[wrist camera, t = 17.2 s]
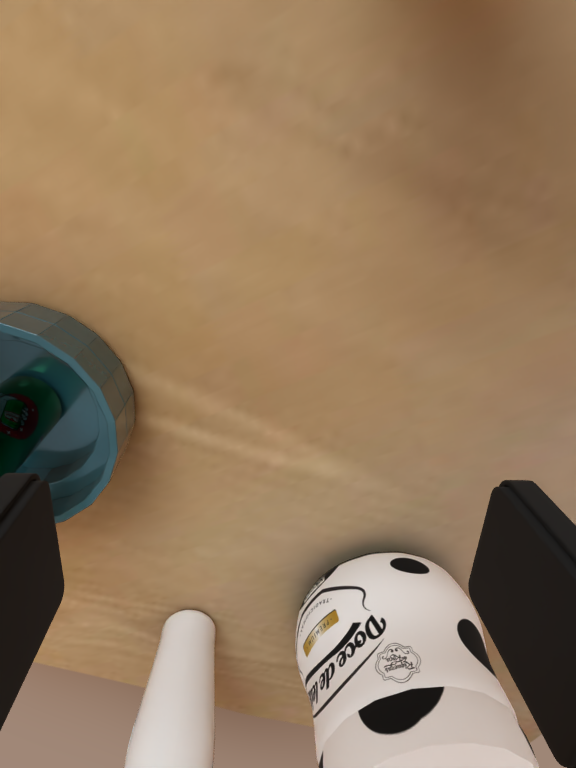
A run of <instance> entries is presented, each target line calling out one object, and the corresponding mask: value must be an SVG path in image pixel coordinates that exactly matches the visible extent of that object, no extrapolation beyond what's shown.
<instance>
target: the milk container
mask: <svg viewBox="0 0 576 768" xmlns="http://www.w3.org/2000/svg"><path fill="white" fill-rule="evenodd" d="M296 658H297V664H298V669H299V673H300V676H301V679H302V682H303V685H304V687H305V690H306V692H307V695H308V697H309V700H310V703H311V706H312V712H313V720H314V731H315V745H316V757H317V763H318V767H319V768H539V765H538V762H537V760H536V757H535V755H534V752H533V750H532V747H531V745H530V743H529V741H528V739H527V737H526V735H525V733H524V732H523V730H522V729H521V727H520V725H519V724H518V721H517V717H516V714H515V712H514V709H513V707H512V705H511V704H510V702H509V700H508V698H507V696H506V694H505V692H504V690H503V689H502V687H501V685H500V683H499V681H498V679H497V677H496V675H495V673H494V671H493V669H492V667H491V665H490V662H489V659H488V655H487V651H486V645H485V640H484V635H483V631H482V627H481V624H480V621H479V618H478V616H477V613H476V611H475V609H474V607H473V605H472V604H471V602H470V600H469V598H468V597H467V596H466V594H465V593H464V591H463V590H462V588H461V587H460V586H459V585H458V583H457V582H456V581H455V580H454V579H453V578H452V577H451V575H450V574H449V573H447V572H446V571H445V570H444V569H443V568H441V567H440V566H438V565H436V564H435V563H433V562H431V561H429V560H427V559H426V558H423V557H420V556H416V555H412V554H408V553H403V552H377V553H369V554H365V555H362V556H359V557H356V558H353V559H350V560H347V561H345V562H343V563H341V564H339V565H337V566H336V567H334V568H333V569H331V570H330V571H329V572H327V573H326V574H324V575H323V576H322V577H321V578H319V580H318V581H317V582H316V583H315V584H314V586H313V587H312V588H311V590H310V591H309V592H308V594H307V596H306V597H305V599H304V601H303V603H302V606H301V608H300V611H299V615H298V621H297V628H296Z"/></svg>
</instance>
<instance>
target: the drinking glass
mask: <svg viewBox="0 0 576 768" xmlns="http://www.w3.org/2000/svg"><path fill="white" fill-rule="evenodd" d="M215 635H216V629H215V625H214V623H213V621H212V619H211V618H210V617H209V616H208V615H206V614H205V613H203V612H200V611H197V610H182V611H179V612H176V613H174V614H173V615H171V616H170V617H169V618H168V619H167V620H166V622H165V623H164V626H163V629H162V633H161V638H160V642H159V646H158V649H157V652H156V656H155V659H154V662H153V666H152V669H151V672H150V675H149V679H148V682H147V685H146V688H145V692H144V695H143V698H142V701H141V704H140V708H139V711H138V714H137V717H136V720H135V724H134V727H133V730H132V734H131V738H130V741H129V746H128V750H127V754H126V759H125V763H124V768H213V760H214V744H215Z"/></svg>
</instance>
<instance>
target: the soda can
mask: <svg viewBox="0 0 576 768" xmlns="http://www.w3.org/2000/svg"><path fill="white" fill-rule="evenodd" d="M60 417H61V403H60V400H59V398H58V396H57V394H56V393H55V392H54V390H53V389H52V388H51V387H50V386H49V385H47V384H46V383H45V382H43V381H41V380H39V379H36V378H33V377H29V376H15V377H11V378H9V379H7V380H5V381H3V382H2V383H1V384H0V477H1V476H3V475H4V474H6V473H16V471H17V470H18V469H19V468H20V467H21V466H22V464H23V463H24V462H25V461H26V460H27V458H28V457H29V456H30V455H31V454H32V453H33V451H34V450H35V449H36V448H37V447H38V446H39V444H40V443H41V442H42V441H43V440H44V438H45V437H46V436H47V435H48V434H49V433H50V431H51V430H52V429H53V428H54V427H55V426H56V424H57V423H58V421H59V419H60Z"/></svg>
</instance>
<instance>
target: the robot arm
mask: <svg viewBox="0 0 576 768" xmlns="http://www.w3.org/2000/svg"><path fill="white" fill-rule="evenodd" d="M63 593H64V578H63V571H62V565H61V558H60V552H59V545H58V538H57V532H56V525H55V519H54V512H53V505H52V499H51V492H50V487H49V483H48V482H47V481H41V479H40V477H39V475H38V474H36V473H6V474H4V475H3V476H1V477H0V730H1V728H2V726H3V724H4V722H5V720H6V718H7V715H8V713H9V711H10V709H11V707H12V705H13V703H14V701H15V698H16V696H17V694H18V692H19V690H20V688H21V686H22V683H23V682H24V679H25V677H26V675H27V673H28V671H29V669H30V667H31V665H32V663H33V660H34V658H35V656H36V654H37V652H38V650H39V648H40V646H41V643H42V641H43V639H44V637H45V635H46V633H47V631H48V629H49V626H50V624H51V622H52V620H53V618H54V616H55V614H56V612H57V610H58V607H59V605H60V603H61V601H62V597H63ZM469 594H470V597H471V600H472V602H473V604H474V606H475V608H476V609H477V611H478V613H479V615H480V617H481V619H482V621H483V623H484V625H485V627H486V628H487V630H488V632H489V634H490V636H491V638H492V640H493V642H494V644H495V646H496V647H497V649H498V651H499V653H500V655H501V657H502V659H503V661H504V663H505V665H506V666H507V668H508V670H509V672H510V674H511V676H512V678H513V680H514V682H515V683H516V685H517V687H518V689H519V691H520V693H521V695H522V697H523V699H524V701H525V702H526V704H527V706H528V708H529V710H530V712H531V714H532V716H533V718H534V720H535V721H536V723H537V725H538V727H539V729H540V731H541V733H542V735H543V736H544V738H545V740H546V742H547V744H548V746H549V748H550V750H551V752H552V754H553V755H554V757H555V759H556V760H557V762H559V764H560V765H562V766H564V767H567V768H576V525H575V524H574V523H573V522H572V521H571V520H570V519H569V518H568V517H567V516H566V515H565V514H564V513H563V512H562V511H561V510H560V509H559V508H558V507H557V506H556V505H555V503H554V502H553V501H552V500H551V499H550V498H549V497H548V496H547V495H546V494H545V493H544V492H543V491H542V490H541V489H540V488H539V487H538V486H537V485H536V484H535V483H534V482H533V481H526V480H505V481H502V483H501V484H500V485H499V487H495V488H494V489H493V491H492V493H491V497H490V501H489V505H488V509H487V513H486V516H485V520H484V524H483V528H482V532H481V536H480V540H479V544H478V548H477V551H476V555H475V559H474V563H473V567H472V571H471V575H470V579H469Z"/></svg>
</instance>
